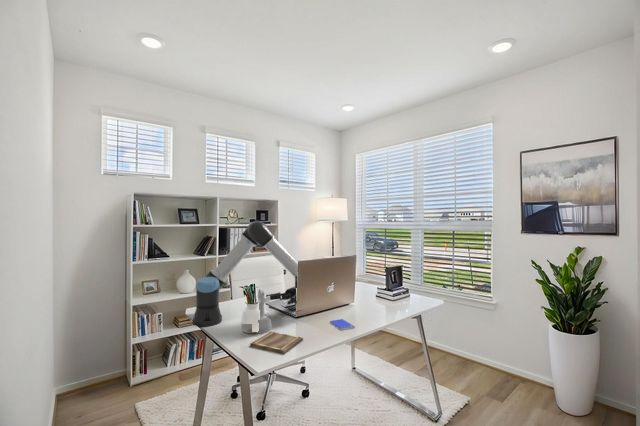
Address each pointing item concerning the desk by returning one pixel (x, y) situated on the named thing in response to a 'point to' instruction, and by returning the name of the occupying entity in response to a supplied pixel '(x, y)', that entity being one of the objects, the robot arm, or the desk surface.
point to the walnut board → (277, 342)
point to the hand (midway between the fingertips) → (273, 302)
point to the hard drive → (342, 324)
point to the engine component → (264, 321)
